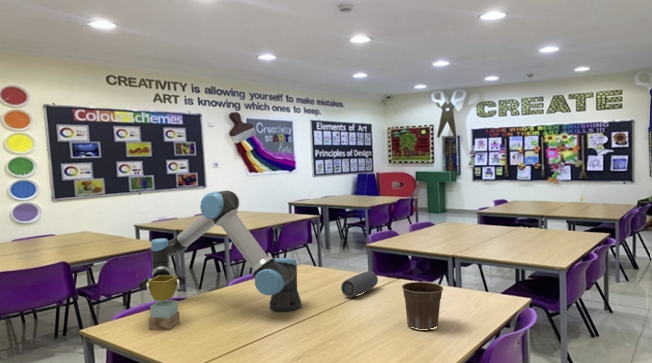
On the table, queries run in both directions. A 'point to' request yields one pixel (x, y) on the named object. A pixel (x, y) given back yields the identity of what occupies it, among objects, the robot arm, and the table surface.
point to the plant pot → (422, 304)
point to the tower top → (163, 309)
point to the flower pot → (163, 287)
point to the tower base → (163, 322)
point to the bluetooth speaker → (359, 283)
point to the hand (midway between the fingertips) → (163, 287)
